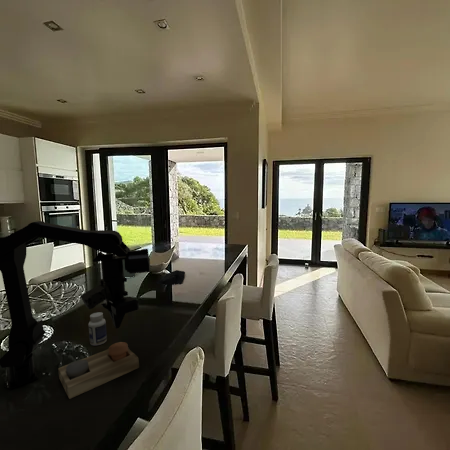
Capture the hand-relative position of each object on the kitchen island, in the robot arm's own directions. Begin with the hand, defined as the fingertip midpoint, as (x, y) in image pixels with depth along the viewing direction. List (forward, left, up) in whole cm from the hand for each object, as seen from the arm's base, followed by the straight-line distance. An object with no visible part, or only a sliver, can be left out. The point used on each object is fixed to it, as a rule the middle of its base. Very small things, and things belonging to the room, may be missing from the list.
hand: (117, 327), depth 81 cm
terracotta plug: (0, 0, -10) cm, 10 cm away
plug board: (0, -6, -11) cm, 13 cm away
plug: (0, -11, -11) cm, 16 cm away
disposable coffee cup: (-90, +41, -12) cm, 99 cm away
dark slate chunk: (-64, +57, -12) cm, 87 cm away
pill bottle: (-19, 0, -12) cm, 22 cm away
